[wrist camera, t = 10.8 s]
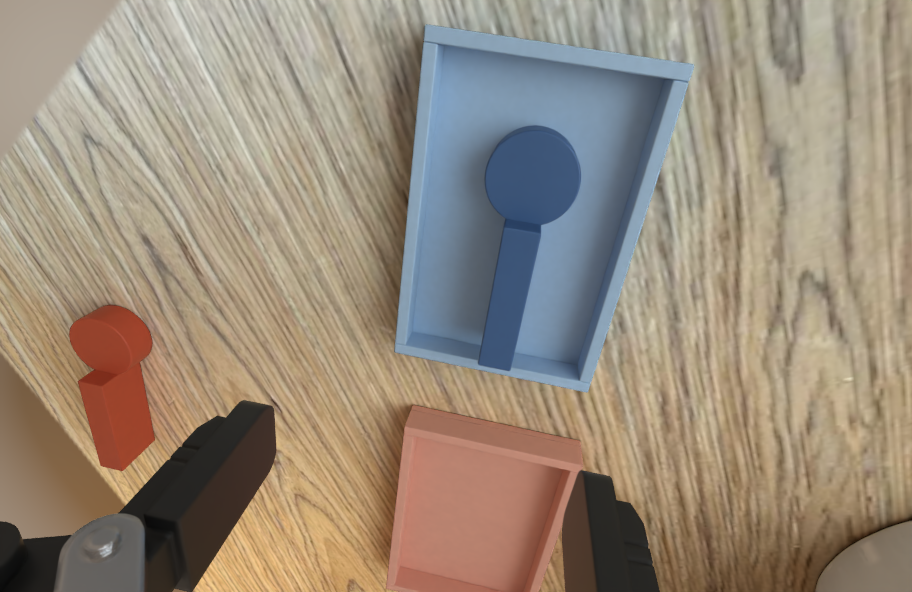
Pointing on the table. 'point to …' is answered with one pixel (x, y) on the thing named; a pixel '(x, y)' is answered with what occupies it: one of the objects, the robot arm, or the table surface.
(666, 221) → the table surface
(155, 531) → the robot arm
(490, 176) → the spoon blue
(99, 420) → the spoon red
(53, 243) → the table surface
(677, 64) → the tray blue
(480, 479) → the tray pink
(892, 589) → the utensil holder
